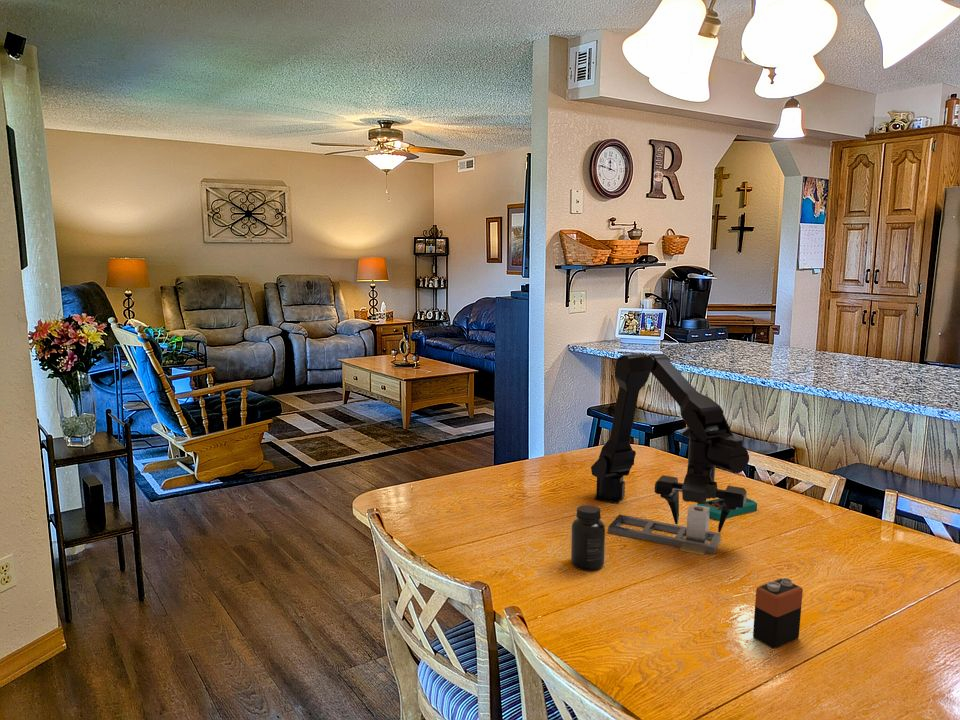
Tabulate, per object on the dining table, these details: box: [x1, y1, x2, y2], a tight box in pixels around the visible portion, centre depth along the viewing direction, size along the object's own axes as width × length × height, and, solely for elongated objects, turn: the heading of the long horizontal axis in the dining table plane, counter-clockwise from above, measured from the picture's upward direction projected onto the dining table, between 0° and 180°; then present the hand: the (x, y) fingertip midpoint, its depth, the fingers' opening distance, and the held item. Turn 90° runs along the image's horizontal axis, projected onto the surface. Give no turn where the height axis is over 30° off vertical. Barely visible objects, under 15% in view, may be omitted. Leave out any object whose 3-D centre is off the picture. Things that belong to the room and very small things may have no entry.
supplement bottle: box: [570, 504, 606, 571], centre depth 140 cm, size 7×7×12 cm
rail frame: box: [607, 513, 722, 556], centre depth 155 cm, size 23×10×2 cm, turn 62°
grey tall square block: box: [685, 504, 710, 544], centre depth 151 cm, size 4×4×8 cm
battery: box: [752, 577, 804, 649], centre depth 114 cm, size 4×7×10 cm, turn 121°
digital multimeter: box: [696, 497, 758, 521], centre depth 171 cm, size 7×15×3 cm, turn 119°
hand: (697, 527), depth 152 cm, fingers open, 9 cm apart
